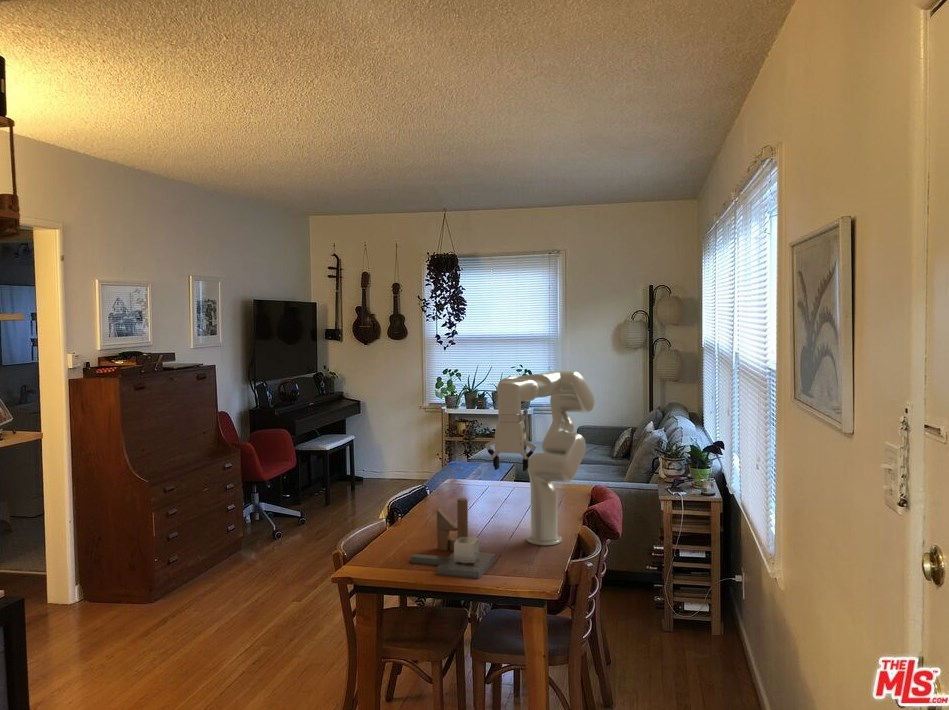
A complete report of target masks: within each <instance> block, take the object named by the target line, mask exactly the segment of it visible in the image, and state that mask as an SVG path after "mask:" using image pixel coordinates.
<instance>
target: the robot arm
mask: <svg viewBox="0 0 949 710" xmlns="http://www.w3.org/2000/svg"><path fill="white" fill-rule="evenodd" d="M496 393H497V407H498V409H497V410H498V415H497V416H498V422H496V425H495V432H494V439H493V440H490V441H489V442H486V443H485V444H484V447H485V448H486V449H485V450H487V452H488V454H489V455H490V456H491V457H492V466H493V468H494V471H497V470H498V469H500V457H499V455H500V454H519V455H521V456H522V458H523V459H522V471H523V472H527V471H528V476H529V484H530V485H529V486H530V533H529V534H528V535H526V541H527V542H528V543H530V544H532V545H537V546H554V545H558V544H560V543H561V542H562V541H563V539H562V536H561V534H558V491H557V488H556V485H555V483H554V482H557V483H564V484H565V483H570V482H572V481H573V480H574V478H575V477H576V475H577V472H578V470H579V467H580V465H581V463H582V461H583V459H584V456H585V453H586V448H587V447H586V440H585V437H584V436H583V435H582V434H580V433H577V432H574V429H575V425H574V422H573V420H572V418H571V417H570V416H569V414H568V413H583V414H584V413H585V414H586V413H589V412H592V411H593V409H594V406H595V397H594V393H593V391H592V390H591V388H590V387H589V384H588V382H587V381H586V379H585V378H584V376H583V375H581V374H580V373H579V372H578V371H571V370H570V371H567V370H553V371H547V372H541V373H534V374H527V375H516V376H515V375H514V376H508V377H503V378H502V379H501V380H500V381H498V384H497V386H496ZM546 397H550V398H549V399H550V410H551V416H552V417H551V418H552V420H551V424H550V426H549V429H548V431H547V433H546V434H545V437H544V439H543V440H542V444H541V451H542V452H538V453H534V452H535V451H536V448H537V445H536V444H535V443H532V442H531V441H529V440H527V434H526V433H527V432H526V426H525V422H523V420H526V415H523V413H522V402H531V401H534V400H535V399H537V398H546ZM493 445H494V449H493V448H492V446H493ZM527 447H528V448H530V450H529V451H527V449H528V448H527Z"/></svg>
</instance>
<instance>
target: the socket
mask: <svg viewBox="0 0 949 710" xmlns="http://www.w3.org/2000/svg"><path fill="white" fill-rule="evenodd" d="M453 552H454V561H458V562H468V563H474V562H475V561H476V560H477V559H478V558H479V552H480V538H478V537H469V536H468V537H460V538H459V539H457V540H456V541H455V542H454V551H453Z"/></svg>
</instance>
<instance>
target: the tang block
mask: <svg viewBox="0 0 949 710" xmlns="http://www.w3.org/2000/svg"><path fill="white" fill-rule="evenodd" d="M496 555H497V554H496V553H489V552H482V551H481V552H480V551H479V558H478V559H477V560H476V561H475V562H474V563H468V562H458V561H454V551H452V553H451V554H449V556H441V555H440V556H439V555H432V554H431V555H430V554H420V553H414V554H412V555H410V563H412V564H418V565H419V564H421V565H422V564H423V565H431V566H437V567H436V571H435V572H436V575H443V576H450V577H452V576H453V577H461V578H471V579H479V580H480V578H481V577H482V576H483V575H484V574H485V573H486V572H487V570H488V569H489V568H490V567H491V566H492V564H493V563H494V562H495V561H496Z"/></svg>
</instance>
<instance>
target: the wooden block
mask: <svg viewBox="0 0 949 710" xmlns="http://www.w3.org/2000/svg"><path fill="white" fill-rule="evenodd" d="M468 501H469V500H468V498H466V497H460V498H457V499H456V504H457V505H456V508H457V509H456V510H457V511H456V513H457V516H456V519H457V522H456V523H457V524H456V523H455V522H454V520H453V519H452V518H451V517H450V516H449V515H448V514H447V513H446V512H445V511H444V510H443V509H442V507H438V508H437V509H436V522H437V523H436V529H437V530H436V532H437V533H436V535H437V538H436V540H437V544H436V545H437V546H436V547H437V548H436V549H437V551H448V550H449V551H452V552H454V542H455V541H456V540H457V539H459V538H460V537H469V528H468V527H469V524H468V523H469V515H468V513H469V511H468V509H469V508H468ZM450 532H457V537H450Z"/></svg>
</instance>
